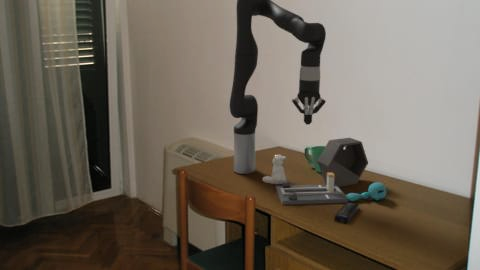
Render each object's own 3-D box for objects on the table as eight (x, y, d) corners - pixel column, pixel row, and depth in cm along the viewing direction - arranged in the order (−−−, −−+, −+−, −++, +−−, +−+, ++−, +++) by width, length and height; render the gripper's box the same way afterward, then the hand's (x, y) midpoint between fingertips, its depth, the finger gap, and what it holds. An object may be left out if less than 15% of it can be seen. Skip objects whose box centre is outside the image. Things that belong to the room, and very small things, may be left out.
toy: (352, 210, 178) (392, 198, 178) (346, 192, 178) (387, 180, 178) (346, 207, 189) (384, 196, 189) (341, 191, 190) (379, 179, 190)
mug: (337, 171, 218) (338, 149, 215) (322, 176, 212) (323, 153, 209) (312, 163, 229) (312, 142, 226) (297, 168, 223) (297, 146, 220)
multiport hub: (358, 209, 176) (359, 203, 175) (347, 224, 164) (347, 218, 163) (346, 207, 178) (347, 201, 177) (334, 222, 166) (334, 215, 165)
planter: (321, 178, 193) (347, 132, 194) (310, 172, 200) (335, 128, 201) (350, 195, 201) (375, 151, 202) (338, 189, 208) (363, 146, 209)
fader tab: (326, 188, 190) (326, 172, 188) (331, 188, 190) (332, 172, 189) (328, 191, 187) (328, 175, 185) (334, 191, 187) (334, 175, 185)
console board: (275, 189, 195) (275, 181, 194) (336, 187, 197) (336, 179, 196) (282, 204, 180) (282, 195, 179) (347, 202, 182) (348, 193, 181)
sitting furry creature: (279, 177, 210) (280, 149, 207) (293, 182, 203) (293, 154, 200) (261, 181, 205) (261, 153, 202) (274, 187, 198) (275, 158, 195)
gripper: (325, 76, 189) (322, 121, 193) (290, 76, 188) (288, 121, 192) (329, 79, 181) (327, 126, 186) (293, 79, 181) (291, 126, 185)
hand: (307, 124), depth 189 cm, fingers closed
